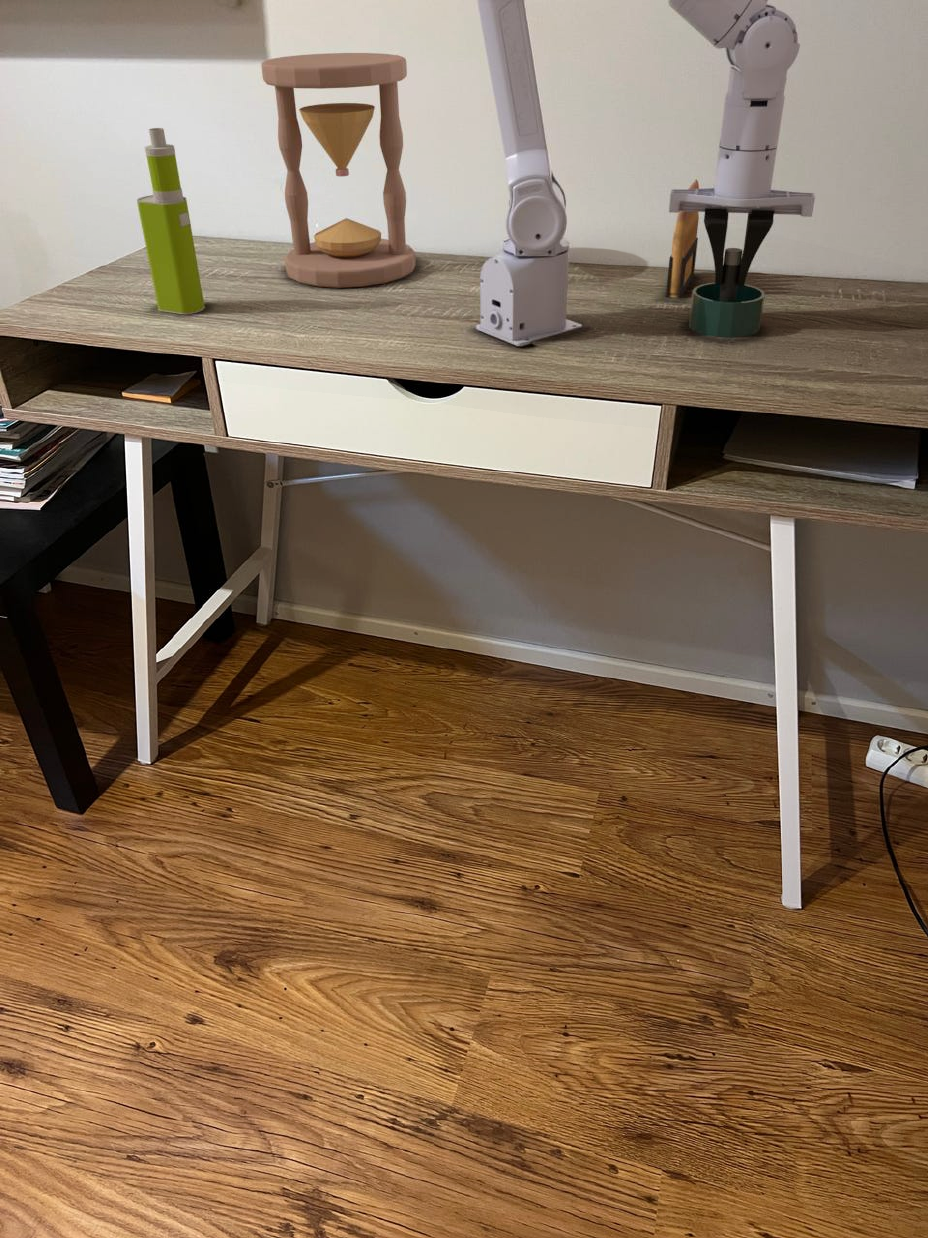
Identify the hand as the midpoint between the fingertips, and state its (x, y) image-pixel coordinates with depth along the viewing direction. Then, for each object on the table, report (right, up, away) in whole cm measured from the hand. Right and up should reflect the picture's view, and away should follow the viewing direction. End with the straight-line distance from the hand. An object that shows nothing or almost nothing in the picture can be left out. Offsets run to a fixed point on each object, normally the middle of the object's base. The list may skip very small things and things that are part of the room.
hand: (729, 282), depth 106 cm
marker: (0, -4, +3) cm, 5 cm away
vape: (-64, +1, +14) cm, 65 cm away
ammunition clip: (-2, +5, +16) cm, 17 cm away
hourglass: (-44, +11, +26) cm, 53 cm away
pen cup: (0, -4, +3) cm, 5 cm away
